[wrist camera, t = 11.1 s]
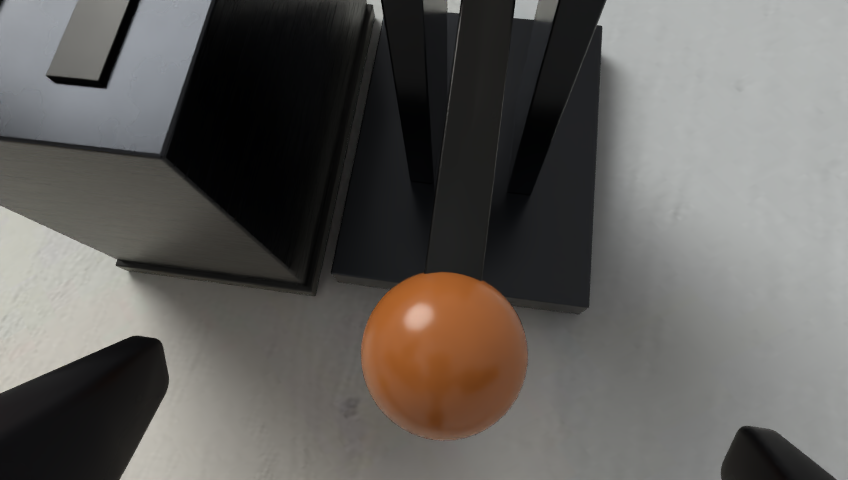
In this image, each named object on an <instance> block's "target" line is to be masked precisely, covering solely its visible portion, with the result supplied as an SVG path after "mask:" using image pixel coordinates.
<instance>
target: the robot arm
mask: <svg viewBox="0 0 848 480" xmlns="http://www.w3.org/2000/svg"><path fill="white" fill-rule="evenodd" d="M168 384H169V375H168V370H167V365H166V359H165V354H164V349H163V345H162V343H161V342H160V341H159V340H158V339H156V338H150V337H143V336H132V337H129V338H127V339H124V340H122V341H120V342H117V343H115V344H113V345H111V346H108V347H106V348H104V349H101V350H99V351H97V352H95V353H92V354H90V355H88V356H85V357H83V358H81V359H78V360H76V361H74V362H72V363H69V364H67V365H65V366H62V367H60V368H58V369H55V370H53V371H51V372H49V373H46V374H44V375H42V376H39V377H37V378H35V379H33V380H30V381H28V382H26V383H23V384H21V385H19V386H16V387H14V388H12V389H10V390H7V391H5V392H3V393H0V480H119V479H120V478H121V476H122V474H123V472H124V471H125V469H126V467H127V465H128V463H129V462H130V460H131V458H132V456H133V454H134V452H135V450H136V448H137V447H138V445H139V443H140V441H141V439H142V437H143V435H144V433H145V431H146V430H147V428H148V426H149V424H150V422H151V420H152V418H153V416H154V415H155V413H156V411H157V409H158V407H159V405H160V403H161V401H162V400H163V398H164V396H165V394H166V391H167V389H168ZM721 479H722V480H836V479H835V478H834V477H833V476H831V475H830V474H829V473H828V472H826V471H825V470H824V469H823V468H821V467H820V466H819V465H818V464H816V463H815V462H814V461H813V460H811V459H810V458H809V457H807V456H806V455H805V454H804V453H802V452H801V451H800V450H799V449H797V448H796V447H795V446H794V445H792V444H791V443H790V442H789V441H787V440H786V439H785V438H784V437H782V436H781V435H780V434H778V433H777V432H776V431H774V430H771V429H766V428H759V427H753V426H743V427H741V428H740V429H739V430H738V432H737V433H736V435H735V437H734V440H733V442H732V444H731V446H730V448H729V450H728V452H727V454H726V456H725V459H724V461H723V463H722V467H721Z"/></svg>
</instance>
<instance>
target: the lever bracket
mask: <svg viewBox="0 0 848 480" xmlns="http://www.w3.org/2000/svg"><path fill="white" fill-rule="evenodd" d="M605 3H606V0H539V1H538V5H537V10H536V14H535V19H534V20H528V19H517V18H513V25H512V33H511V41H510V50H509V58H508V66H507V75H506V83H505V92H504V100H503V108H502V117H501V125H500V133H499V142H498V150H497V159H496V167H495V175H494V184H493V192H492V200H491V209H490V217H489V226H488V234H487V242H486V251H485V259H484V267H483V276H482V280H484V281H486V282H487V283H489V284H490V285H492V286H493V287H494V288H496V289H497V290H498V291H499V292H500V293H501V294H502V295H503V296H504V297H505V298H506V299H507V300H508V301H509V302H510V304H511V305H512V306H519V307H527V308H534V309H542V310H549V311H557V312H564V313H572V314H580V313H582V312H583V311H585V310H586V309H587V308H588V307H589V296H590V275H591V254H592V233H593V212H594V191H595V170H596V149H597V128H598V107H599V86H600V65H601V44H602V26H598V25H597V23H598V21H599V18H600V16H601V13H602V10H603V8H604V5H605ZM381 4H382V10H383V21H382V26H381V31H380V36H379V41H378V46H377V50H376V55H375V60H374V65H373V70H372V75H371V80H370V84H369V89H368V94H367V99H366V104H365V109H364V114H363V118H362V123H361V128H360V133H359V138H358V143H357V148H356V152H355V157H354V162H353V167H352V172H351V177H350V182H349V186H348V191H347V196H346V201H345V206H344V211H343V216H342V220H341V225H340V230H339V235H338V240H337V245H336V250H335V254H334V259H333V264H332V269H331V274H332V275H333V277H334V278H335V279H336V280H337V281H338V282H339V283H346V284H354V285H361V286H369V287H376V288H384V289H392V288H393V287H394V286H396V285H397V284H399V283H400V282H402V281H403V280H405V279H407V278H409V277H411V276H414V275H417V274H420V273H423V272H424V271H425V264H426V256H427V249H428V242H429V234H430V227H431V219H432V212H433V205H434V197H435V190H436V183H437V175H438V168H439V160H440V153H441V146H442V138H443V131H444V123H445V116H446V109H447V101H448V94H449V86H450V79H451V72H452V64H453V57H454V49H455V42H456V35H457V27H458V20H459V13H447V0H381Z"/></svg>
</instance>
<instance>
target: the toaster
mask: <svg viewBox="0 0 848 480" xmlns="http://www.w3.org/2000/svg"><path fill="white" fill-rule="evenodd" d="M374 18H375V15H374V9H373V5H371V4H367V2H366V0H0V206H3V207H5V208H7V209H9V210H11V211H13V212H16V213H18V214H20V215H22V216H24V217H26V218H29V219H31V220H33V221H35V222H37V223H39V224H42V225H44V226H46V227H48V228H50V229H53V230H55V231H57V232H59V233H61V234H63V235H66V236H68V237H70V238H72V239H74V240H76V241H79V242H81V243H83V244H85V245H87V246H89V247H92V248H94V249H96V250H98V251H100V252H102V253H105V254H107V255H109V256H111V257H113V258H115V259H117V262H116V266H118V267H120V268H122V269H124V270H127V271H134V272H142V273H149V274H156V275H164V276H171V277H178V278H186V279H193V280H200V281H208V282H215V283H222V284H230V285H237V286H244V287H252V288H259V289H267V290H274V291H281V292H289V293H296V294H303V295H311V296H315V295H316V291H317V286H318V281H319V277H320V272H321V267H322V263H323V258H324V253H325V248H326V244H327V239H328V234H329V230H330V225H331V220H332V215H333V211H334V206H335V201H336V197H337V192H338V187H339V182H340V178H341V173H342V168H343V164H344V159H345V154H346V150H347V145H348V140H349V135H350V131H351V126H352V121H353V117H354V112H355V107H356V102H357V98H358V93H359V88H360V84H361V79H362V74H363V69H364V65H365V60H366V55H367V51H368V46H369V41H370V36H371V32H372V27H373V22H374Z"/></svg>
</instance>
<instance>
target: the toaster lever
mask: <svg viewBox="0 0 848 480" xmlns="http://www.w3.org/2000/svg"><path fill="white" fill-rule="evenodd" d="M514 8H515V0H461V5H460V13H459V20H458V27H457V35H456V42H455V49H454V57H453V64H452V72H451V79H450V86H449V94H448V101H447V109H446V116H445V123H444V131H443V138H442V146H441V153H440V160H439V168H438V175H437V183H436V190H435V197H434V205H433V212H432V219H431V227H430V234H429V242H428V249H427V256H426V264H425V271H424V272H423V273H420V274H417V275H414V276H411V277H409V278H407V279H405V280H403V281H402V282H400V283H399V284H397V285H396V286H394V287H393V288H392V289H391V290H390V291H388V292H387V293H386V294H385V295H384V296H383V297H382V299H381V300H380V301H379V302H378V304H377V305H376V306H375V308H374V309H373V311H372V313H371V315H370V317H369V319H368V321H367V324H366V327H365V330H364V333H363V338H362V345H361V365H362V370H363V376H364V379H365V382H366V386H367V388H368V390H369V392H370V394H371V396H372V398H373V400H374V401H375V403H376V405H377V406H378V407H379V408H380V410H381V411H382V412H383V413H384V414H385V415H386V416H387V417H388V418H389V419H390V420H391V421H392V422H393V423H395V424H396V425H397V426H399V427H400V428H402V429H404V430H406V431H407V432H409V433H411V434H414V435H416V436H419V437H422V438H426V439H431V440H440V441H449V440H458V439H464V438H467V437H470V436H473V435H476V434H478V433H480V432H482V431H484V430H486V429H488V428H489V427H491V426H492V425H494V424H495V423H496V422H497V421H499V420H500V419H501V418H502V417H503V416H504V415H505V414H506V413H507V411H508V410H509V409H510V408H511V407H512V405H513V404H514V402H515V400H516V399H517V397H518V395H519V393H520V391H521V389H522V386H523V383H524V380H525V376H526V371H527V365H528V349H527V341H526V336H525V332H524V329H523V326H522V323H521V321H520V319H519V317H518V315H517V313H516V311H515V310H514V308H513V307H512V305H511V304H510V302H509V301H508V300H507V299H506V298H505V297H504V296H503V295H502V294H501V293H500V292H499V291H498V290H497V289H496V288H494V287H493V286H492V285H490V284H489V283H487V282H486V281H484V280H482V276H483V267H484V259H485V251H486V242H487V234H488V226H489V217H490V209H491V200H492V192H493V184H494V175H495V167H496V159H497V150H498V142H499V133H500V125H501V117H502V108H503V100H504V92H505V83H506V75H507V66H508V58H509V50H510V41H511V33H512V25H513V16H514Z"/></svg>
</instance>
